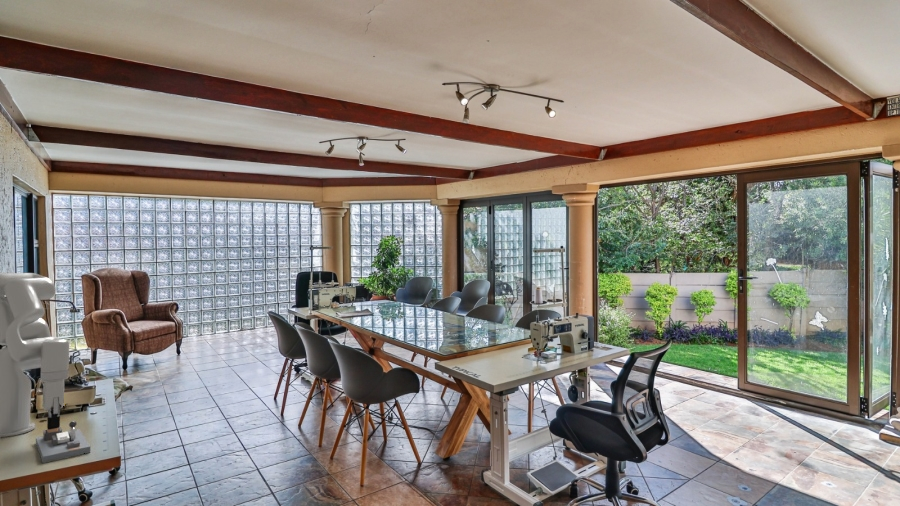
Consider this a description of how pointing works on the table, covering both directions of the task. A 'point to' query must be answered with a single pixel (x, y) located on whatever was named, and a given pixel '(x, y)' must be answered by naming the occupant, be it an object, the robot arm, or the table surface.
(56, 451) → the switch panel
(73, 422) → the toggle lever
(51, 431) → the push button
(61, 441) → the rocker
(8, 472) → the table surface
